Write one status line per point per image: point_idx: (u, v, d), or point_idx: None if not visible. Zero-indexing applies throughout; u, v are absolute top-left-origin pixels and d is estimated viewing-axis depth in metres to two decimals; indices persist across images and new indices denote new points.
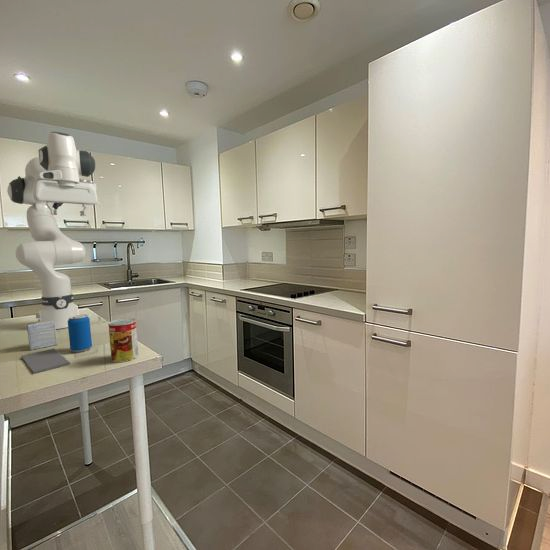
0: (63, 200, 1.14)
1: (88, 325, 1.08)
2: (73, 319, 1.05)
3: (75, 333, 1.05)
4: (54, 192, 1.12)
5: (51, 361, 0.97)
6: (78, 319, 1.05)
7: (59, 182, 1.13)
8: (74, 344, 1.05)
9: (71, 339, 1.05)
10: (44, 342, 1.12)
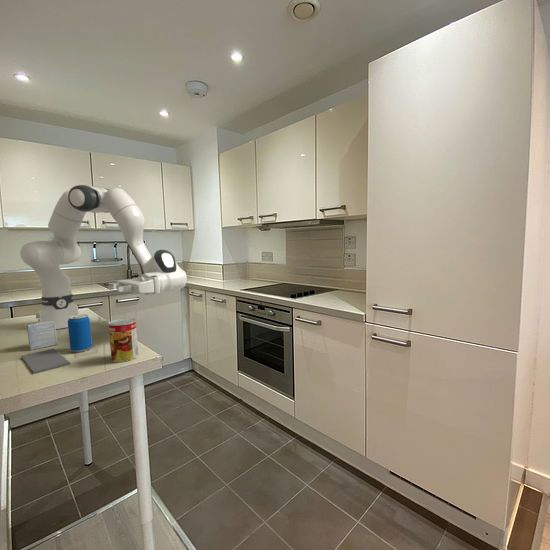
0: (129, 291, 1.18)
1: (88, 325, 1.08)
2: (73, 319, 1.05)
3: (75, 333, 1.05)
4: None
5: (51, 361, 0.97)
6: (78, 319, 1.05)
7: None
8: (74, 344, 1.05)
9: (71, 339, 1.05)
10: (44, 342, 1.12)
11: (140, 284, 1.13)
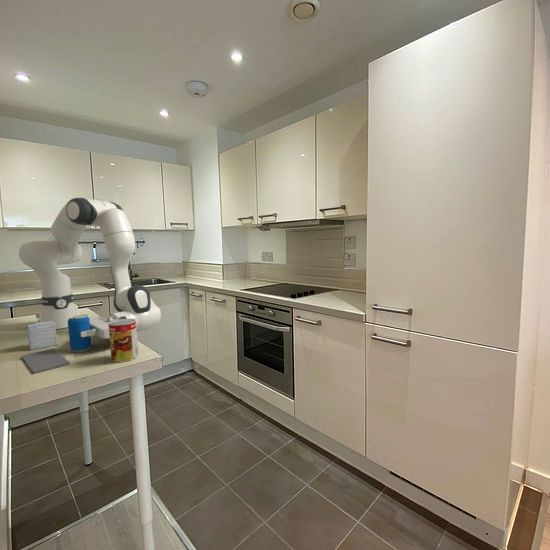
0: None
1: (88, 325, 1.08)
2: (73, 319, 1.05)
3: (75, 333, 1.05)
4: None
5: (51, 361, 0.97)
6: (78, 319, 1.05)
7: None
8: (74, 344, 1.05)
9: (71, 339, 1.05)
10: (44, 342, 1.12)
11: (105, 329, 1.05)
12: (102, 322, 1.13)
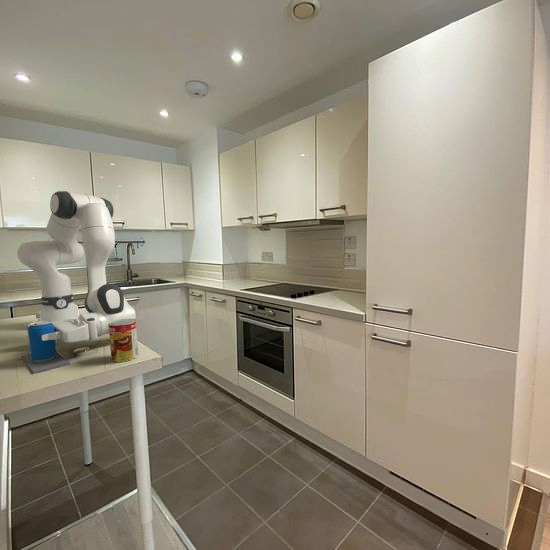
0: None
1: (51, 332, 0.98)
2: (33, 326, 0.95)
3: (35, 342, 0.95)
4: None
5: (51, 361, 0.97)
6: (39, 326, 0.96)
7: None
8: (34, 353, 0.96)
9: (31, 348, 0.96)
10: None
11: (69, 332, 0.95)
12: (68, 324, 1.04)
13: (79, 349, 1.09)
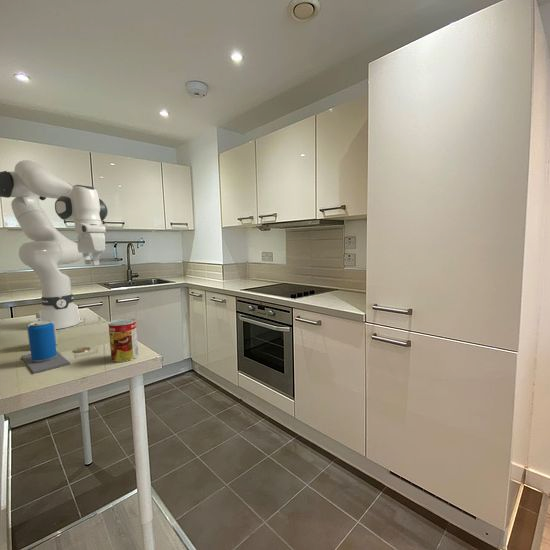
0: None
1: (51, 332, 0.98)
2: (33, 326, 0.95)
3: (35, 342, 0.95)
4: None
5: (51, 361, 0.97)
6: (39, 326, 0.96)
7: None
8: (34, 353, 0.96)
9: (31, 348, 0.96)
10: None
11: (95, 249, 1.11)
12: (85, 243, 1.17)
13: (79, 349, 1.09)
